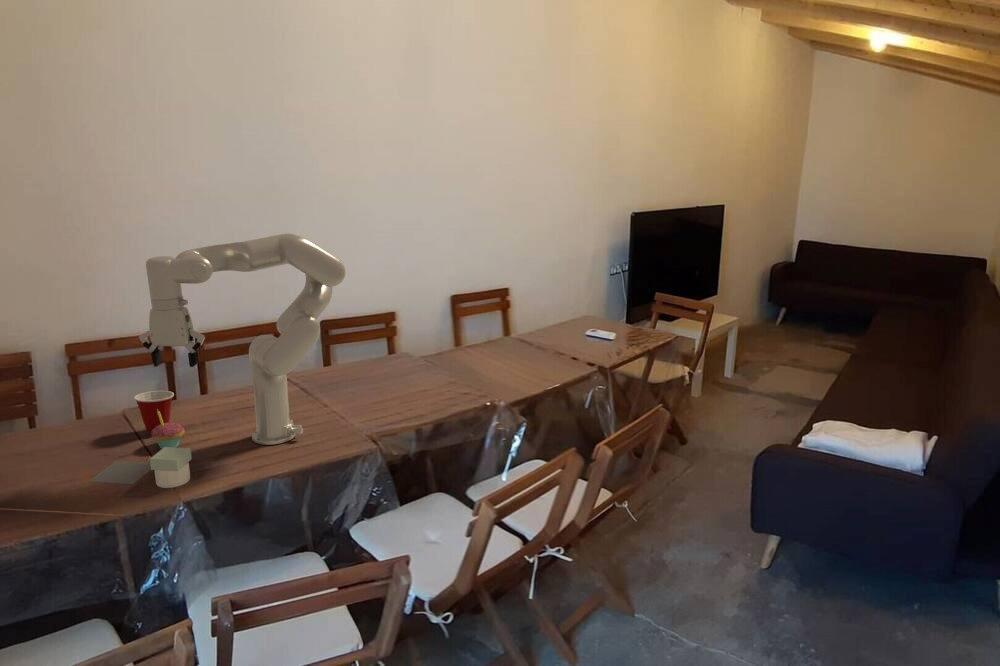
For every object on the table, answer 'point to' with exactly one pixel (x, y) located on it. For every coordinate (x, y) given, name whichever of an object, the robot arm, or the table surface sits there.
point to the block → (170, 459)
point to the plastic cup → (154, 407)
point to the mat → (123, 472)
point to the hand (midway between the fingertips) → (175, 365)
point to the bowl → (172, 477)
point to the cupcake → (167, 433)
